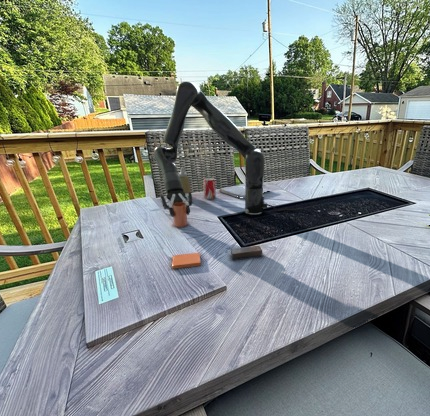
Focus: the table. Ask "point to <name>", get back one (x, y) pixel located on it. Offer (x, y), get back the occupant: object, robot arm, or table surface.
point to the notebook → (234, 191)
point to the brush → (246, 252)
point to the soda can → (209, 188)
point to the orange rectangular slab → (186, 260)
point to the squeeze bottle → (184, 181)
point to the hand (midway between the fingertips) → (181, 215)
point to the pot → (180, 214)
